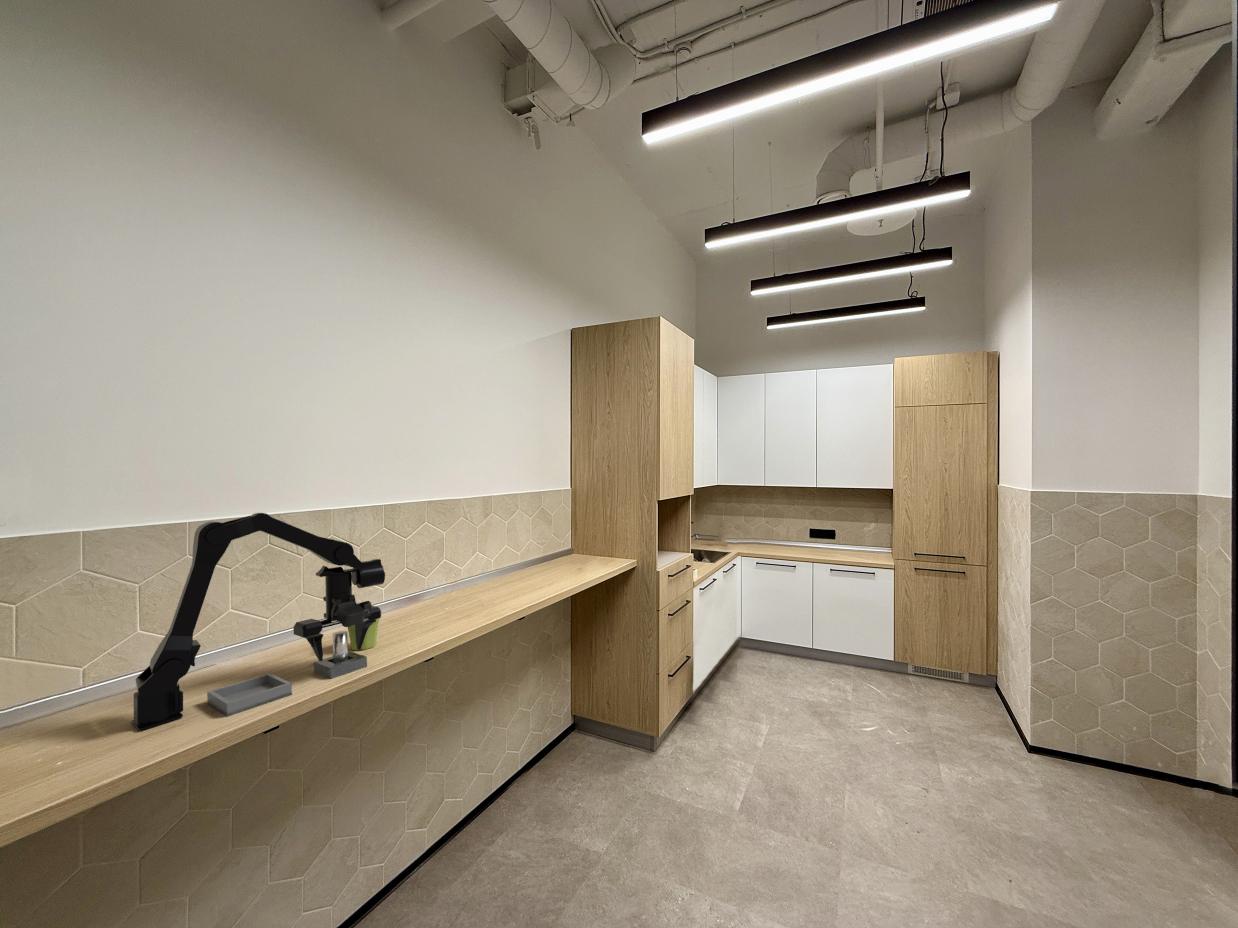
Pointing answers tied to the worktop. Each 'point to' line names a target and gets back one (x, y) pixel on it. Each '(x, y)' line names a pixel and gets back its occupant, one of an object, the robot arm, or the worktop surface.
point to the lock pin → (340, 647)
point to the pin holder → (340, 665)
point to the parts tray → (248, 694)
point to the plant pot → (369, 637)
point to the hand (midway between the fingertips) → (340, 654)
